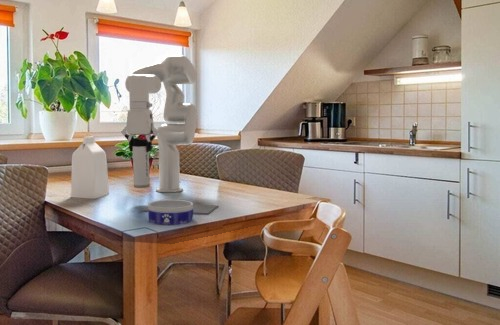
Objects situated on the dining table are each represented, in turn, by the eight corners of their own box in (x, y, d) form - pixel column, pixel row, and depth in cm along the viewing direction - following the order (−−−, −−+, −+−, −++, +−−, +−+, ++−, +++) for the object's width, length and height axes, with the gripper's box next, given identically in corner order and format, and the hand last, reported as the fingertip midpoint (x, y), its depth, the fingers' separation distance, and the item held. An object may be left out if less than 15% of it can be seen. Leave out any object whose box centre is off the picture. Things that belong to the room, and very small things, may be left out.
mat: (155, 203, 192) (155, 202, 192) (218, 206, 187) (218, 205, 187) (140, 211, 177) (140, 209, 177) (207, 214, 172) (207, 213, 172)
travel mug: (132, 186, 194) (130, 137, 191) (148, 184, 196) (146, 136, 193) (134, 188, 188) (132, 138, 185) (150, 187, 190) (149, 137, 187)
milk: (95, 198, 202) (94, 137, 200) (71, 197, 204) (69, 136, 202) (109, 193, 214) (108, 136, 211) (85, 192, 216) (84, 135, 214)
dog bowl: (194, 216, 171) (194, 199, 170) (191, 226, 156) (191, 207, 155) (152, 215, 170) (152, 199, 170) (144, 225, 155) (144, 207, 154)
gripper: (163, 106, 190) (164, 150, 192) (123, 105, 193) (124, 149, 195) (156, 106, 182) (157, 153, 185) (114, 106, 185) (116, 151, 188)
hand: (140, 150), depth 190 cm, fingers closed on travel mug, 6 cm apart
